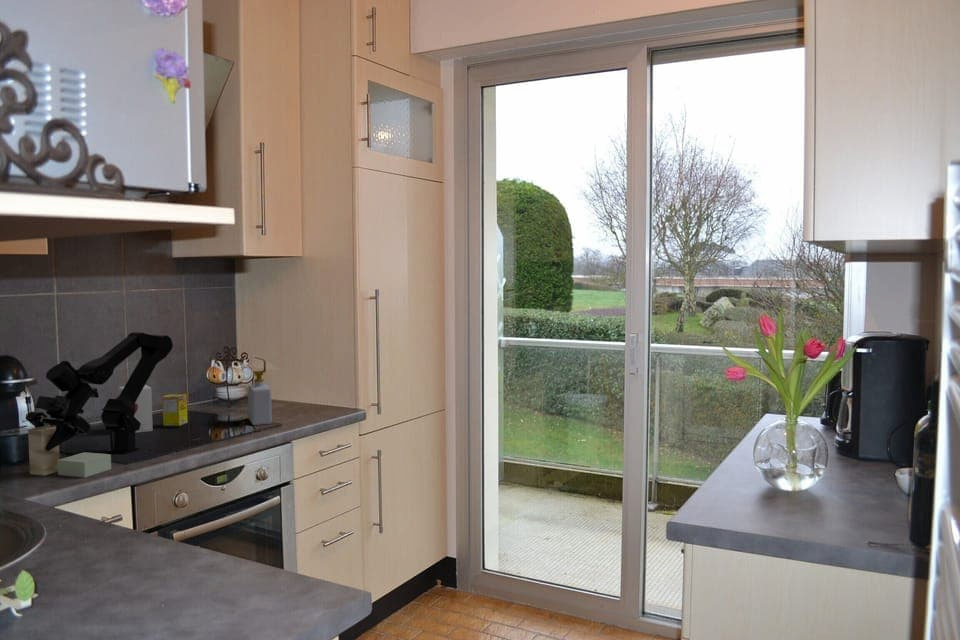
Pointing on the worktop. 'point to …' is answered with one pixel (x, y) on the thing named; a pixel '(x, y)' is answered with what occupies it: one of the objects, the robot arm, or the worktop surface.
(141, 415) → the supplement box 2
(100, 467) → the riser block
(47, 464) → the maple block
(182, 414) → the supplement box
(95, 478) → the worktop surface
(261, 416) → the soap bottle
